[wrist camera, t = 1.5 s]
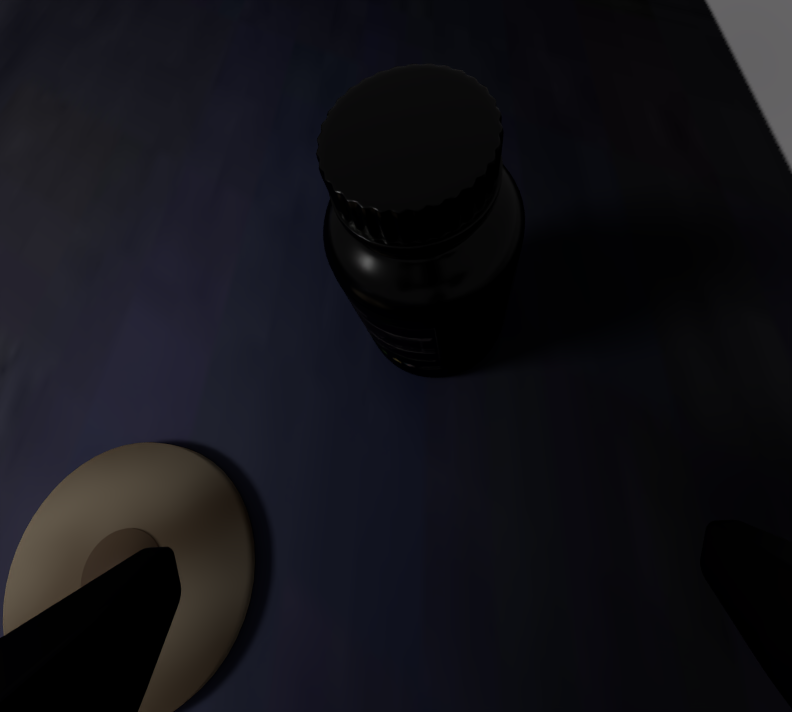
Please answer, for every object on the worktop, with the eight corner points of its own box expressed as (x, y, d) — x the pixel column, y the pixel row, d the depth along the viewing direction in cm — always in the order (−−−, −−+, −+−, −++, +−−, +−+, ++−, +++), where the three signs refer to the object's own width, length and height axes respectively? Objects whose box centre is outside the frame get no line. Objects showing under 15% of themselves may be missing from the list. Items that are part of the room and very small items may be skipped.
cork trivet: (306, 584, 18) (298, 588, 18) (88, 800, 17) (68, 817, 16) (171, 397, 22) (160, 393, 21) (-16, 561, 21) (-36, 564, 20)
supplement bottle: (410, 243, 23) (366, 7, 12) (524, 291, 21) (600, 65, 10) (346, 345, 22) (227, 187, 10) (462, 406, 20) (471, 294, 9)
